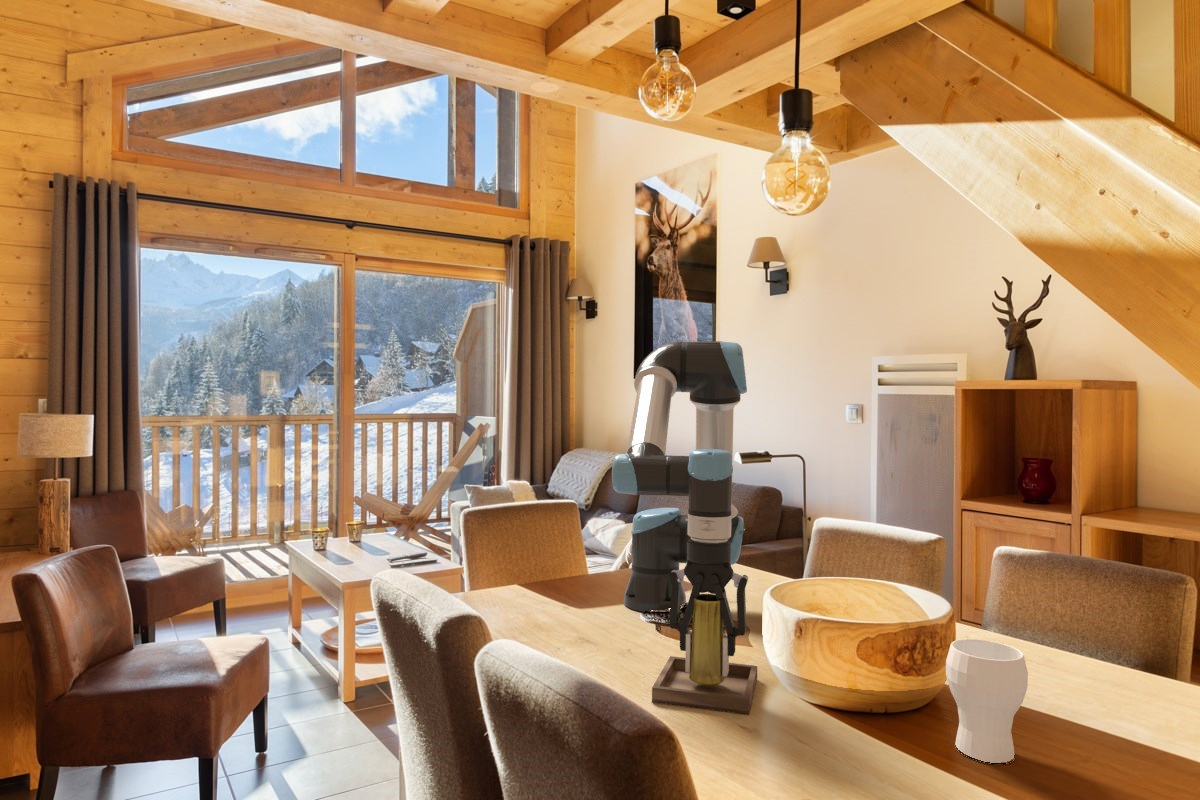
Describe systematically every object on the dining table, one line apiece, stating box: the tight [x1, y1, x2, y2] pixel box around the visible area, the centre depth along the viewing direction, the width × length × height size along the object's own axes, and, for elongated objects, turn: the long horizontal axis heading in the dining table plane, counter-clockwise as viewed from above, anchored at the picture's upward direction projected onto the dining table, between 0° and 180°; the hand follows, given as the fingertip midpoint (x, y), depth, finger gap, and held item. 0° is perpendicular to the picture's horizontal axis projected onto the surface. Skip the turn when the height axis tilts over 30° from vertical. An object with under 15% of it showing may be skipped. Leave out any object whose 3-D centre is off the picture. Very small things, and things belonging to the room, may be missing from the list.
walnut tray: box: [651, 655, 758, 716], centre depth 132 cm, size 16×16×2 cm
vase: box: [689, 593, 724, 685], centre depth 132 cm, size 6×6×14 cm
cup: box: [945, 638, 1029, 764], centre depth 111 cm, size 11×11×15 cm
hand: (707, 671), depth 132 cm, fingers closed on vase, 6 cm apart
